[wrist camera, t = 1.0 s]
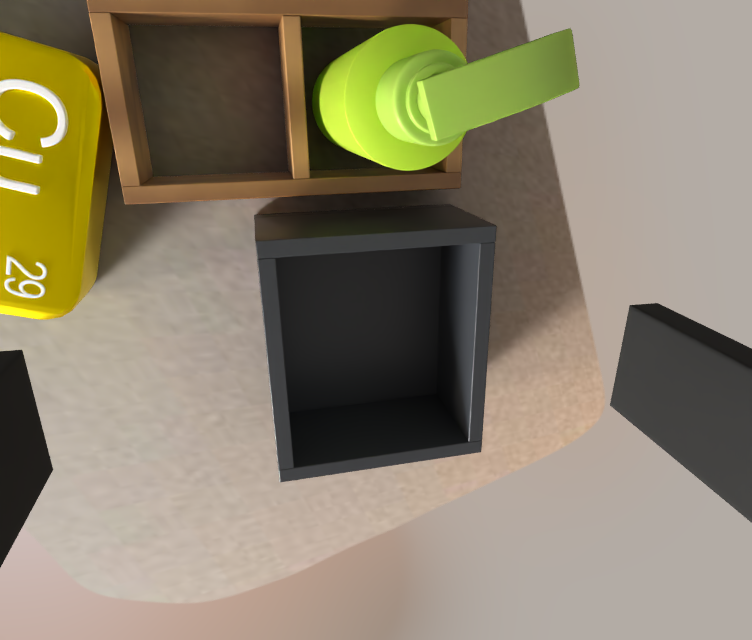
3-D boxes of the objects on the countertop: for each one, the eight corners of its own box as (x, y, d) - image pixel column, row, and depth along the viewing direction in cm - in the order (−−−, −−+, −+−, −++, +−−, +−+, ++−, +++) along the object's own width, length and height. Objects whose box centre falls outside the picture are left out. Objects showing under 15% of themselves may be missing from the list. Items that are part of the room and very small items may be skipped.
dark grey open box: (254, 214, 36) (255, 241, 29) (450, 204, 39) (496, 225, 32) (274, 418, 42) (279, 482, 35) (444, 396, 45) (481, 452, 38)
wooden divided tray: (106, 5, 30) (84, -12, 26) (442, 11, 34) (468, -3, 30) (139, 193, 34) (124, 204, 30) (438, 179, 38) (460, 188, 34)
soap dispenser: (424, 128, 37) (596, 147, 18) (329, 163, 36) (410, 217, 18) (400, 36, 34) (571, -49, 16) (298, 71, 34) (354, 25, 15)
